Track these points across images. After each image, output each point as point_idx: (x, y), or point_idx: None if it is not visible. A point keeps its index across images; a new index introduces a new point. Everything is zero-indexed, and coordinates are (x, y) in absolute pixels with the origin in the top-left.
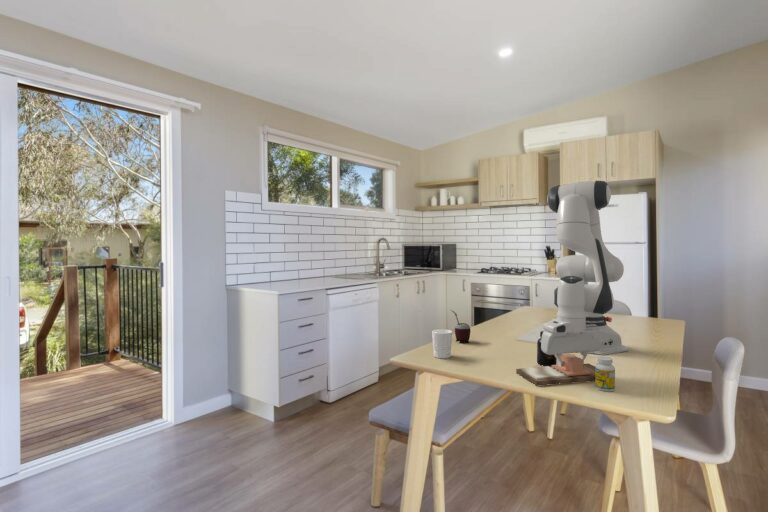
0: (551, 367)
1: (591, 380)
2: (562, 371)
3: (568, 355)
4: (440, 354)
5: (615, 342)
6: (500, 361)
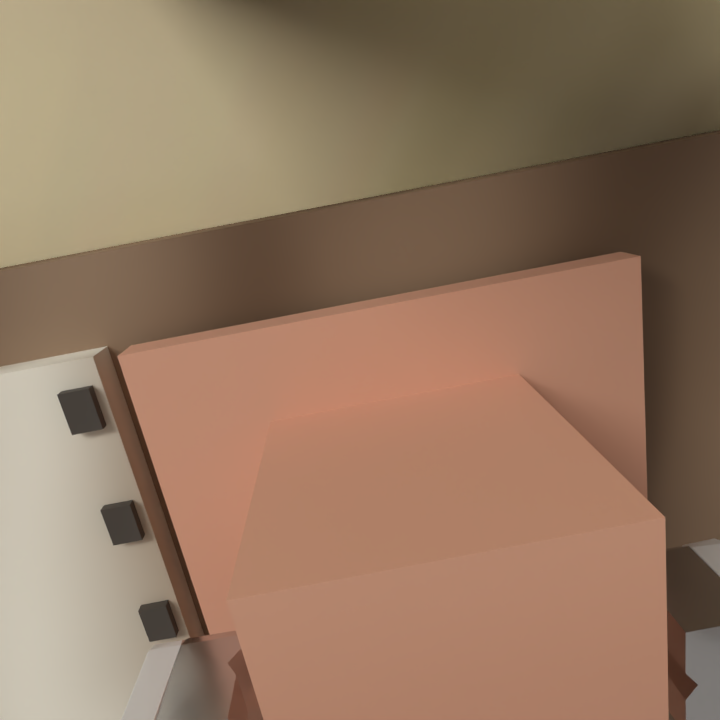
0: (95, 445)
1: None
2: None
3: (500, 693)
4: None
5: None
6: None
